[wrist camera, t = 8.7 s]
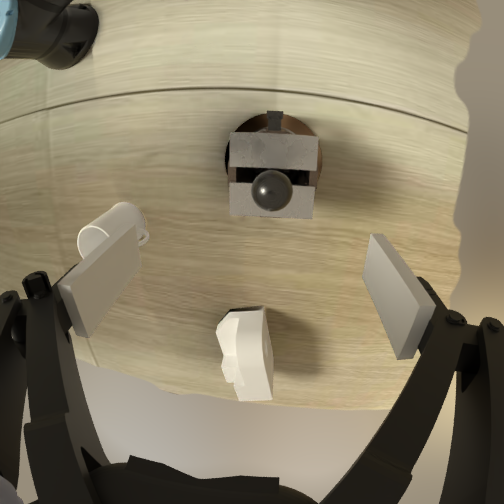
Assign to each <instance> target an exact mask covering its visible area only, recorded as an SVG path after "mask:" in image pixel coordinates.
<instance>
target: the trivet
mask: <svg viewBox="0 0 504 504" xmlns="http://www.w3.org/2000/svg"><path fill="white" fill-rule="evenodd" d="M264 127H268V119H267V114H261V115H258V116H255V117H253V118H250V119H249V120H247V121H245V122H244V123H243V124H241V125H240V126H239V127H238V128H237V129H236V130H235V132H249V133H253V132H254V131H256V130H258V129H260V128H264ZM281 127H282V128H286V129H288V130H290V131H292V132H293V133H295V134H296V135H308V136H314V134H313V133H312V131H311V130H310V129H309V128H308V127H307V126H306V125H305V124H303V123H302V122H301V121H299V120H297V119H295V118H293V117H291V116H288V115H284V114H283V119H281ZM229 160H230V140H229V142H228V144H227V147H226V152H225V167H226V172H227V175H228V161H229ZM317 165H318V177H317V180H318V178H319V176H320V172H321V167H322V154H321V149H320V146H319V143H318V156H317Z"/></svg>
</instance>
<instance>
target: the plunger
mask: <svg viewBox="0 0 504 504" xmlns="http://www.w3.org/2000/svg"><path fill="white" fill-rule="evenodd" d="M251 170H252V172H253V174H254V176H255V177H256V178H255V180H254V181H253V183H252V187H251V195H252V198H253V200H254V202H255V204H256V205H257V206H258V207H260V208H261V209H263V210H265V211H270V212H274V211H279V210H281V209H283V208H285V207H286V206H287V205H288V204H289V202H290V201H291V198H292V195H293V187H292V184H291V182H290V180H289V179H290V178H291V177H292V176H293V174H294V172H295V170H296V169H280V168H258V167H251Z"/></svg>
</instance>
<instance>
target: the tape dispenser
mask: <svg viewBox="0 0 504 504" xmlns="http://www.w3.org/2000/svg"><path fill="white" fill-rule="evenodd" d="M216 334H217V337H218V340H219V343H220V346H221V349H222V352H223V355H224V357H223V361H222V366H221V368H222V371H223V373H224V376H225V378H226V381H227V383H232V382H234V389H235V391H236V394H237V396H238V399H239V401H260V400H273V373H274V356H273V351H272V346H271V341H270V335H269V330H268V325H267V320H266V315H265V310H264V306H256V307H246V308H235V309H230V310H229V311H228V312H227V313H226V314H225V316H224V317H223V318H222V319H221V320H220V321H219V322H218V326H217V330H216Z"/></svg>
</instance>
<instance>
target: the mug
mask: <svg viewBox="0 0 504 504" xmlns="http://www.w3.org/2000/svg"><path fill="white" fill-rule="evenodd" d="M123 224H135V226H136V233H137V239H138V240H139V239H140V238H141V237H142V236H143V234H144V235H146V238H145V239H144V240H142V241H140V242H138V246H139V247H140V246H142V245H144V244H145V243H146V242H147V241H148V240H149V233H148V232H147V231H146V230H145V219H144V216H143V214H142V213H141V211H140V210H139V209H138V208H137V207H136V206H135V205H133V204H131V203H128V202H120V203H117V204H115V205H114V206H113V207H112V208H111V209H110V210H109V211H107V212H106V213H104V214H103V215H101V216H100V217H98V218H97V219H95V220H94V221H92V222H91V223H90V224H88V225H87V226H85V227H84V228H83V229H82V230H81V231H80V233H79V235H78V239H77V244H78V249H79V252H80V254H81V256H82V257H83V259H84V258H85V257H86V256H87V255H89V254H90V253H91V252H92V251H93V250H94V249H95V248H96V247H98V246H99V245H100V244H101V243H102V242H103V241H104V240H106V239H107V238H108V237H109V236H110V235H111V234H113V233H114V232H115V231H116V230H117V229H119V228H120V227H121V226H122V225H123Z"/></svg>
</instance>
